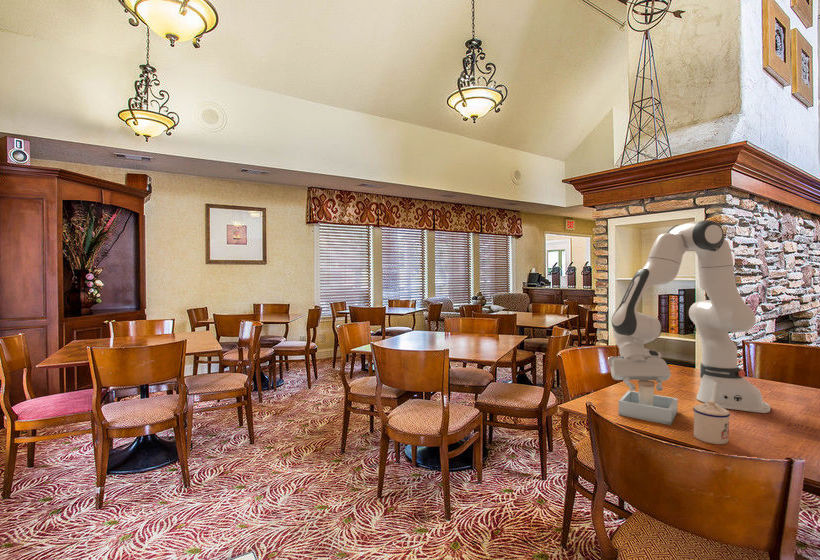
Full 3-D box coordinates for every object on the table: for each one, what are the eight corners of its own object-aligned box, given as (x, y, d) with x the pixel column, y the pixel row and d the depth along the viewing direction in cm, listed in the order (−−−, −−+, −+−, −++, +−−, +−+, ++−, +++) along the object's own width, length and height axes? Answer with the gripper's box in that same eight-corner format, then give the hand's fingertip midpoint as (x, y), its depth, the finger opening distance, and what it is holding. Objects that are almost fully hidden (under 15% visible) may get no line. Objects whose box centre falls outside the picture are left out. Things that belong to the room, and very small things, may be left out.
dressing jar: (655, 408, 153) (655, 381, 153) (652, 412, 149) (653, 384, 149) (639, 406, 157) (639, 379, 156) (636, 409, 152) (636, 382, 152)
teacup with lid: (729, 447, 123) (730, 408, 122) (692, 440, 128) (692, 402, 128) (728, 434, 133) (729, 397, 132) (693, 428, 138) (694, 392, 138)
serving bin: (677, 412, 153) (677, 398, 153) (670, 425, 140) (671, 410, 140) (628, 403, 163) (628, 390, 163) (618, 414, 150) (618, 400, 150)
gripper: (608, 352, 160) (619, 384, 150) (664, 352, 159) (679, 385, 149) (603, 361, 164) (614, 393, 155) (658, 361, 163) (672, 394, 154)
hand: (646, 389), depth 152 cm, fingers open, 8 cm apart
